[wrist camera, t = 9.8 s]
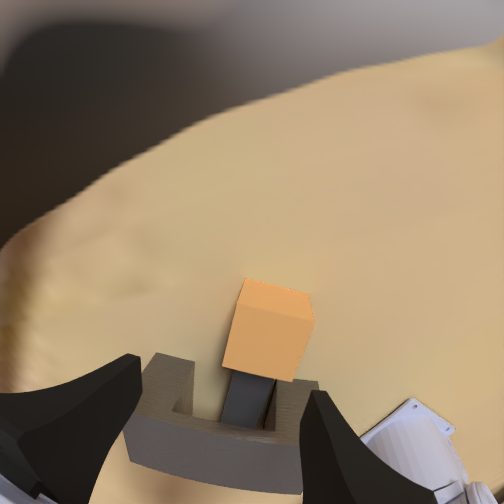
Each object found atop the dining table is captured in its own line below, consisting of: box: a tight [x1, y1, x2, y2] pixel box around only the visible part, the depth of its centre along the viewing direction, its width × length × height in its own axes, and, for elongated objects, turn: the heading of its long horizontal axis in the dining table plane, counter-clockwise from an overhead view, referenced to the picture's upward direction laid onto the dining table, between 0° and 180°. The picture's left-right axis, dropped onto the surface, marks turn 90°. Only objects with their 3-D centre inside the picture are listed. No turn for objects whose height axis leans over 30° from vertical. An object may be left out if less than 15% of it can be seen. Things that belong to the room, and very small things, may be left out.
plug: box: [220, 278, 315, 429], centre depth 18 cm, size 16×4×4 cm, turn 166°
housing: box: [123, 352, 319, 495], centre depth 17 cm, size 6×12×6 cm, turn 82°
